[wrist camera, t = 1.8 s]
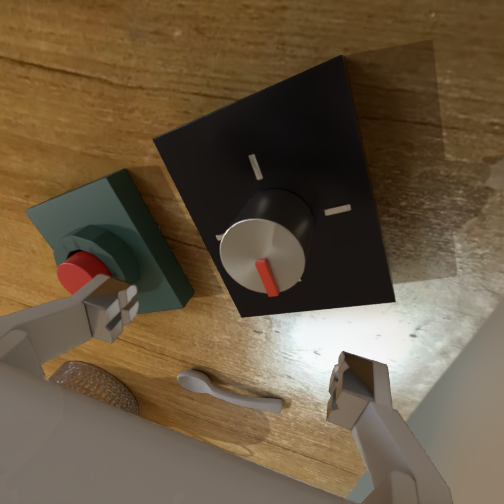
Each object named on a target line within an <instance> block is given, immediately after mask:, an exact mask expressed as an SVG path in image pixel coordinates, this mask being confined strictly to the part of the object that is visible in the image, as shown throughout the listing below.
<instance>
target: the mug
mask: <svg viewBox="0 0 504 504" xmlns="http://www.w3.org/2000/svg"><path fill="white" fill-rule="evenodd" d="M70 363H71V364H70ZM48 380H49V381H52V382H54V383H57V384H59V385H62V386H64V387H67V388H69V389H72V390H74V391H77V392H79V393H82V394H84V395H87V396H89V397H92V398H94V399H97V400H99V401H102V402H104V403H107V404H110V405H112V406H115V407H117V408H120V409H122V410H125V411H127V412H130V413H132V414H135V415H137V414H138V412H139V405H138V402H137V400H136V398H135V397H134V395H133V394H132V393H131V391H130V390H129V389H128V388H127V387H126V386H125V385H124V384H123V383H122V382H120V381H119V380H118V379H117V378H115V377H114V376H112V375H111V374H109V373H108V372H106V371H104V370H102V369H100V368H98V367H96V366H94V365H91V364H88V363H85V362H80V361H68V362H65V363H63V364H62V365H61V366H60V367H59V368H58V369H57V371H56V372H55V373H54V374H53V375H52V376H51V377H50V378H49V379H48ZM136 407H137V408H136Z"/></svg>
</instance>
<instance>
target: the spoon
mask: <svg viewBox="0 0 504 504" xmlns="http://www.w3.org/2000/svg"><path fill="white" fill-rule="evenodd" d="M177 381H178V383H179V384H180V385H181V386H182V387H184V388H185V389H187V390H190V391H193V392H197V393H208V394H210V395H212V396H215V397H217V398H219V399H222V400H224V401H227V402H230V403H233V404H236V405H240V406H244V407H249V408H254V409H259V410H263V411H268V412H273V413H279V412H281V410H282V406H283V400H281V399H274V398H259V397H250V396H244V395H238V394H233V393H229V392H226V391H223V390H221V389H219V388H217V387H216V386H215V385H213V384H212V382H211V381H210V380H209V378H208V377H207V376H206V375H205V374H203V373H201V372H199V371H195V370H186V371H183V372H181V373H180V374H179V375H178V377H177Z"/></svg>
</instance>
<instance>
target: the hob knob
mask: <svg viewBox="0 0 504 504" xmlns="http://www.w3.org/2000/svg"><path fill="white" fill-rule="evenodd" d="M313 232H314V219H313V215H312V212H311V210H310V209H309V207H308V206H307V204H306V203H305V202H304V201H303V200H302V199H301V198H300V197H298V196H297V195H295V194H293V193H291V192H289V191H285V190H280V189H269V190H265V191H262V192H259V193H258V194H256V195H254V196H253V197H252V198H251V199H250V200H249V201H248V203H247V204H246V205H245V207H244V208H243V209H242V211H241V212H240V213H239V214H238V216H237V217H236V218H235V220H234V221H233V222H232V224H231V225H230V226H229V228H228V229H227V230H226V232H225V233H224V235H223V237H222V239H221V242H220V257H221V261H222V263H223V266H224V268H225V269H226V271H227V272H228V274H229V275H230V276H231V277H232V278H233V279H234V280H235V281H236V282H238V283H239V284H240V285H242V286H244V287H246V288H248V289H250V290H253V291H256V292H260V293H267V294H268V296H269V297H272V296H278V295H279V292H282V291H285V290H287V289H289V288H290V287H292V286H293V285H295V284H296V283H297V282H298V281H299V279H300V278H301V276H302V274H303V272H304V269H305V265H306V260H307V256H308V252H309V248H310V244H311V240H312V236H313Z"/></svg>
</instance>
